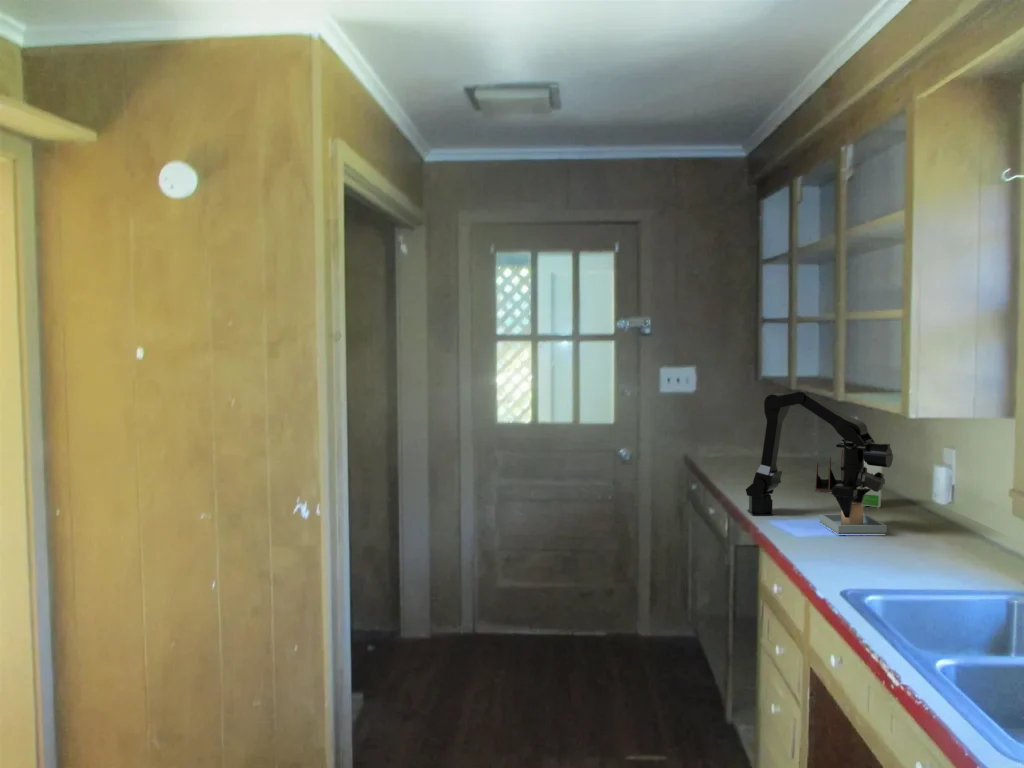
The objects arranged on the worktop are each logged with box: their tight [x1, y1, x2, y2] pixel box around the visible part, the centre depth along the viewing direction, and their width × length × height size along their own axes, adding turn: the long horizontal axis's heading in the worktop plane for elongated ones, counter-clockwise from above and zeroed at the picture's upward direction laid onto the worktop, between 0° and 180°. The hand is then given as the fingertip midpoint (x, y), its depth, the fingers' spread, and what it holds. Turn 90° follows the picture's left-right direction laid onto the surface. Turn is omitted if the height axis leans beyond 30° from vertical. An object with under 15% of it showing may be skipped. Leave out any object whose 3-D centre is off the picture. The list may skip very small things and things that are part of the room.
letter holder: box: [814, 449, 843, 493], centre depth 295 cm, size 10×20×14 cm, turn 158°
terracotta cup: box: [840, 501, 864, 525], centre depth 235 cm, size 6×6×7 cm
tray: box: [818, 513, 888, 535], centre depth 235 cm, size 14×14×3 cm
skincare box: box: [862, 461, 884, 508], centre depth 265 cm, size 8×7×16 cm
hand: (852, 514), depth 235 cm, fingers open, 8 cm apart
